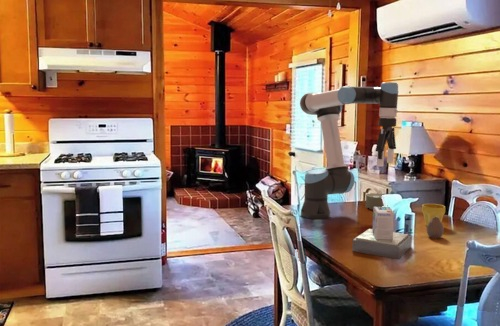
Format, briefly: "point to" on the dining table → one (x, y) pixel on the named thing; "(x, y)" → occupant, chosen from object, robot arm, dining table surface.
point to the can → (373, 200)
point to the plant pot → (432, 212)
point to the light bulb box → (383, 223)
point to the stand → (382, 244)
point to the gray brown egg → (435, 228)
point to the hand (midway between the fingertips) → (385, 164)
